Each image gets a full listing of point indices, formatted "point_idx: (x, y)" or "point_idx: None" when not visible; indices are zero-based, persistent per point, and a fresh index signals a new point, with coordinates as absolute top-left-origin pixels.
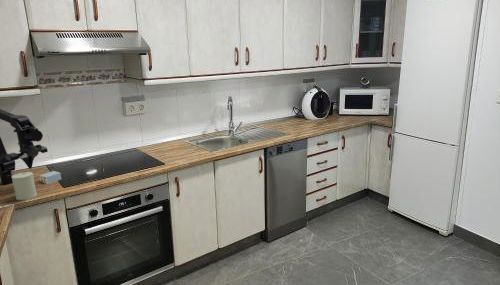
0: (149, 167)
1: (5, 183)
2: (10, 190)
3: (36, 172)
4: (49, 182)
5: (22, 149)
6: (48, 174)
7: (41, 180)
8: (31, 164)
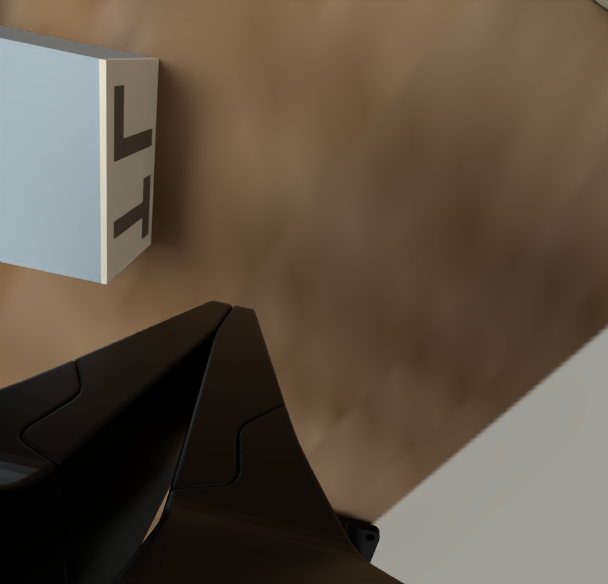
0: None
1: (356, 536)
2: (495, 351)
3: None
4: (120, 52)
5: None
6: (6, 164)
7: (143, 226)
8: (166, 341)
